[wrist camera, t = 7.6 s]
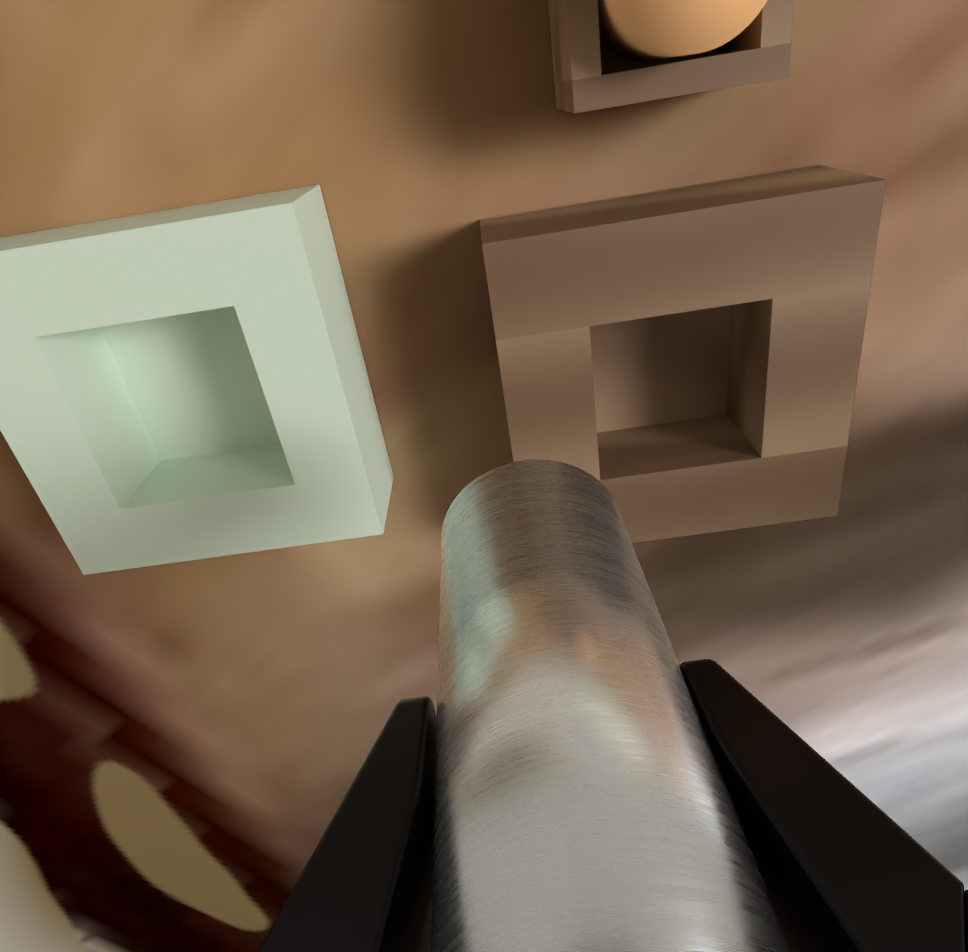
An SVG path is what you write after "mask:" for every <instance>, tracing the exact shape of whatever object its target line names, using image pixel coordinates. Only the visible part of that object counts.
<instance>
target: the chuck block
mask: <svg viewBox="0 0 968 952" xmlns="http://www.w3.org/2000/svg"><path fill="white" fill-rule="evenodd" d="M885 182H886V180H885V179H880V178H876V177H871V176H867V175H862V174H858V173H853V172H849V171H844V170H840V169H835V168H831V167H826V166H822V165H816V166H810V167H804V168H798V169H791V170H785V171H779V172H773V173H767V174H760V175H754V176H748V177H742V178H736V179H729V180H723V181H717V182H711V183H705V184H699V185H692V186H686V187H680V188H674V189H668V190H661V191H655V192H649V193H643V194H637V195H630V196H624V197H618V198H612V199H606V200H600V201H593V202H587V203H581V204H575V205H569V206H562V207H556V208H550V209H544V210H538V211H531V212H525V213H519V214H513V215H507V216H501V217H494V218H488V219H482V220H479V221H480V231H481V241H482V249H483V256H484V263H485V270H486V277H487V283H488V290H489V297H490V304H491V311H492V318H493V325H494V332H495V339H496V345H497V352H498V359H499V366H500V373H501V380H502V387H503V394H504V401H505V407H506V414H507V421H508V428H509V435H510V442H511V449H512V456H513V462H516V461H521V460H532V459H540V460H552V461H559V462H563V463H566V464H570V465H573V466H575V467H577V468H580V469H582V470H584V471H586V472H587V473H589V474H591V475H592V476H593V477H595V478H596V479H597V480H599V481H600V482H601V483H602V484H603V485H604V486H605V487H606V488H607V490H608V491H609V492H610V494H611V495H612V497H613V498H614V500H615V502H616V504H617V506H618V509H619V512H620V514H621V517H622V519H623V522H624V524H625V527H626V530H627V532H628V535H629V537H630V540H631V542H632V543H637V542H644V541H652V540H659V539H667V538H674V537H682V536H689V535H697V534H704V533H712V532H719V531H727V530H735V529H742V528H750V527H757V526H765V525H772V524H780V523H787V522H795V521H802V520H810V519H817V518H825V517H832V516H837V515H838V508H839V501H840V494H841V487H842V481H843V474H844V467H845V460H846V453H847V446H848V439H849V432H850V425H851V418H852V411H853V404H854V397H855V390H856V383H857V376H858V369H859V362H860V355H861V349H862V342H863V335H864V328H865V321H866V314H867V307H868V300H869V293H870V286H871V279H872V272H873V265H874V258H875V251H876V244H877V237H878V230H879V224H880V217H881V210H882V203H883V196H884V189H885Z"/></svg>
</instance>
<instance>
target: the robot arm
mask: <svg viewBox="0 0 968 952" xmlns="http://www.w3.org/2000/svg"><path fill="white" fill-rule="evenodd" d="M680 668H681V671H682V673H683V676H684V679H685V681H686V684H687V686H688V689H689V691H690V694H691V697H692V699H693V702H694V704H695V707H696V709H697V712H698V715H699V717H700V720H701V722H702V725H703V727H704V730H705V733H706V735H707V738H708V740H709V743H710V745H711V748H712V750H713V753H714V755H715V758H716V760H717V763H718V765H719V768H720V771H721V773H722V776H723V778H724V781H725V783H726V786H727V789H728V791H729V794H730V796H731V799H732V801H733V804H734V806H735V809H736V812H737V814H738V817H739V819H740V822H741V824H742V827H743V830H744V832H745V835H746V837H747V840H748V842H749V845H750V848H751V850H752V853H753V855H754V858H755V860H756V863H757V865H758V868H759V871H760V873H761V876H762V878H763V881H764V883H765V886H766V889H767V891H768V894H769V896H770V899H771V901H772V904H773V906H774V909H775V912H776V914H777V917H778V919H779V922H780V924H781V927H782V930H783V932H784V935H785V937H786V940H787V942H788V945H789V948H790V950H791V952H968V890H965V891H964V885H963V883H962V882H961V881H960V880H959V879H958V878H957V877H956V876H954V875H953V874H952V873H951V872H950V871H949V870H948V869H947V868H945V867H944V866H943V865H942V864H941V863H940V862H939V861H938V860H937V859H935V858H934V857H933V856H932V855H931V854H930V853H929V852H928V851H926V850H925V849H924V848H923V847H922V846H921V845H920V844H919V843H918V842H916V841H915V840H914V839H913V838H912V837H911V836H910V835H909V834H907V833H906V832H905V831H904V830H903V829H902V828H901V827H900V826H899V825H897V824H896V823H895V822H894V821H893V820H892V819H891V818H890V817H888V816H887V815H886V814H885V813H884V812H883V811H882V810H881V809H880V808H878V807H877V806H876V805H875V804H874V803H873V802H872V801H871V800H869V799H868V798H867V797H866V796H865V795H864V794H863V793H862V792H861V791H859V790H858V789H857V788H856V787H855V786H854V785H853V784H852V783H850V782H849V781H848V780H847V779H846V778H845V777H844V776H843V775H842V774H840V773H839V772H838V771H837V770H836V769H835V768H834V767H833V766H831V765H830V764H829V763H828V762H827V761H826V760H825V759H824V758H823V757H821V756H820V755H819V754H818V753H817V752H816V751H815V750H814V749H812V748H811V747H810V746H809V745H808V744H807V743H806V742H805V741H804V740H802V739H801V738H800V737H799V736H798V735H797V734H796V733H795V732H793V731H792V730H791V729H790V728H789V727H788V726H787V725H786V724H785V723H783V722H782V721H781V720H780V719H779V718H778V717H777V716H776V715H774V714H773V713H772V712H771V711H770V710H769V709H768V708H767V707H766V706H764V705H763V704H762V703H761V702H760V701H759V700H758V699H757V698H755V697H754V696H753V695H752V694H751V693H750V692H749V691H748V690H747V689H745V688H744V687H743V686H742V685H741V684H740V683H739V682H738V681H736V680H735V679H734V678H733V677H732V676H731V675H730V674H729V673H728V672H726V671H725V670H724V669H723V668H722V667H721V666H720V665H719V664H717V663H716V662H715V661H713V660H710V659H703V660H696V661H688V662H684V663H682V664H681V665H680ZM436 734H437V716H436V713H435V709H434V705H433V702H432V700H431V699H430V698H429V697H418V698H410V699H404V700H401V701H400V702H399V703H398V704H397V705H396V707H395V709H394V711H393V712H392V714H391V716H390V718H389V719H388V721H387V723H386V725H385V727H384V728H383V730H382V732H381V734H380V735H379V737H378V739H377V741H376V743H375V744H374V746H373V748H372V750H371V751H370V753H369V755H368V757H367V758H366V760H365V762H364V764H363V766H362V767H361V769H360V771H359V773H358V774H357V776H356V778H355V780H354V782H353V783H352V785H351V787H350V789H349V790H348V792H347V794H346V796H345V798H344V799H343V801H342V803H341V805H340V806H339V808H338V810H337V812H336V814H335V815H334V817H333V819H332V821H331V822H330V824H329V826H328V828H327V829H326V831H325V833H324V835H323V837H322V838H321V840H320V842H319V844H318V845H317V847H316V849H315V851H314V853H313V854H312V856H311V858H310V860H309V861H308V863H307V865H306V867H305V869H304V870H303V872H302V874H301V876H300V877H299V879H298V881H297V883H296V884H295V886H294V888H293V890H292V892H291V893H290V895H289V897H288V899H287V900H286V902H285V904H284V906H283V908H282V909H281V911H280V913H279V915H278V916H277V918H276V920H275V922H274V924H273V925H272V927H271V929H270V931H269V932H268V934H267V936H266V938H265V939H264V941H263V943H262V945H261V947H260V948H259V950H258V952H431V932H432V892H433V853H434V813H435V773H436Z"/></svg>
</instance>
